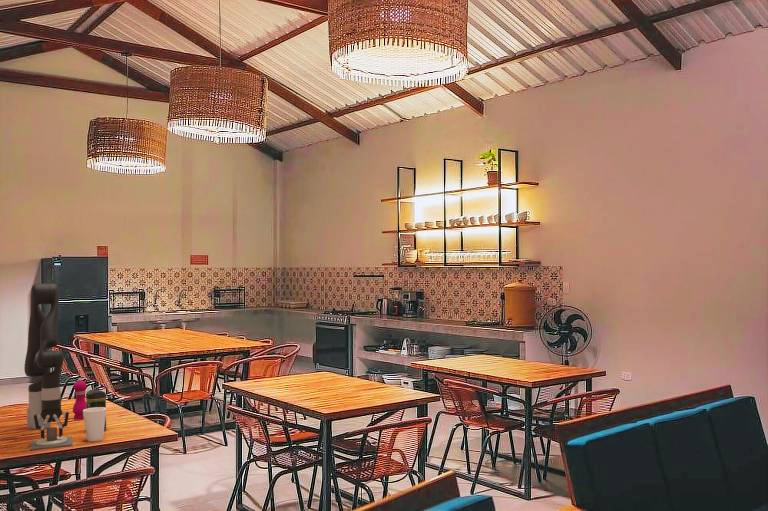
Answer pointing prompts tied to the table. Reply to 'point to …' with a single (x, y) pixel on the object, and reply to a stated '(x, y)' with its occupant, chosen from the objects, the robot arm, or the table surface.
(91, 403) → the coffee jar
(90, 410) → the foam cup
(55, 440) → the lid
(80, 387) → the pepper mill
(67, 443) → the mat
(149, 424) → the table surface
